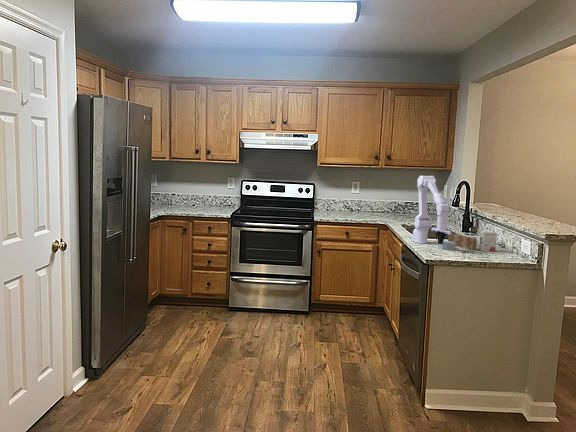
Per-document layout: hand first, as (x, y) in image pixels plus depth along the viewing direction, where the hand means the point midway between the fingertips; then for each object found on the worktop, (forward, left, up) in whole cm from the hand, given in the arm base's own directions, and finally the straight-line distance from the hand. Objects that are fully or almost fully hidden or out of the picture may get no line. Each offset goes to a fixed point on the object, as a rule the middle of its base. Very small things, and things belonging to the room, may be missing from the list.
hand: (440, 244), depth 295 cm
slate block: (0, +6, -3) cm, 7 cm away
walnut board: (0, +19, -3) cm, 19 cm away
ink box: (+14, +26, -3) cm, 30 cm away
